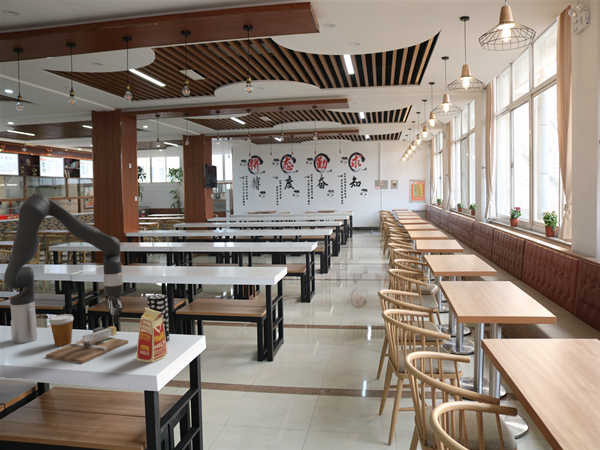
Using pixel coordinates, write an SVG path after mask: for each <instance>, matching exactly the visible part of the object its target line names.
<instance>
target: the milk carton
mask: <svg viewBox="0 0 600 450" xmlns="http://www.w3.org/2000/svg"><path fill="white" fill-rule="evenodd" d="M144 309H145V311H144V313H143V314H142V315H141V318H140V323H139V330H138V337H137V344H136V359H135V360H136V361H138V362H146V363H154V362H157V361H159V360H160V361H161V360H162V359H165V357H166V356H167V355H166V354H168V349H167V348H168V347H167V346H168V345H167V343H166V338H165V330H164V324H163V319H162V316H161V315H160V314H161V313H162V312H158V311H153V310H151V309H148V307H144ZM165 355H166V356H165Z"/></svg>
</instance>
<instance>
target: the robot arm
mask: <svg viewBox="0 0 600 450" xmlns="http://www.w3.org/2000/svg"><path fill="white" fill-rule="evenodd" d="M47 216H51V217H53V218H54V219H56V220H58V221H59V222H60V223H61V224H62V225H63V226H64V228H65V229H66V230H67V231H68V233H70V234H71V235H72V236H73V237H75V238H77V239H79V240H81V241H83V242H84V243H87V244H89V245H92V246H93V247H95V248H96V249H98V250H99V251H101V252H103V290H104V296H107V299H106V300H105V304H106V308H107V310H108V312H109V313H110V315H111V321H112V324H118V323H119V322H120V321H119V319H120V318H119V317H120V316H119V315H120V314H121V313H122V311H123V309H124V306H125V304H124V303H122V299H121V296H122V295H123V293H124V278H123V270H122V261H121V242H120V240H119V239H118V238H117V237H116V236H113V235H111V236H110V235H108V234H106V233H104V232H102V231H101V230H100V229H99V228H97V227H95V226H93V225H92V224H89V223H87V222H86V221H83V220H81V219H79V218H78V217H77V216H75V215H73V214H72V213H70V212H69V211H68V210H66V209H65V208H63V206H61V205H59V204H58V203H56V202H55V201H54V200H52V199H51V198H50V197H47V196H46V195H44V194H42V193H32V194H31V195H30V196H29V197H28V198H26V200H25V201H24V202H23V203H22V205H21V206H20V207H19V211H18V225H17V229H16V233H15V236H14V240H13V244H12V247H11V248H12V249H11V253H10V254H11V255H10V257H9V261H8V264H7V266H6V269H5V272H4V276H3V282H4V283H3V284H4V286H5V287H6V288H7V289H9V290H15V289H22V290H21V291H20V292H18V293H17V294H15V295H13V296H11V298H10V299H9V302H10V314H11V320H10V330H11V341H12V342H13V343H15V344H26V343H30V342H33V341H36V340H37V339H38V328H37V317H36V316H37V314H36V305H35V303H36V302H35V273H34V270H33V268H32V267H31V266H25V265H27V264H28V263H29V262H30V261H32V260H33V259H34V258H35V256H36V255H37V254H38V250H39V248H40V247H39V246H40V241H41V240H40V237H39V234H38V232H39V230H40V227H41V225H42V223H43V221H44V220H45V219H46V217H47Z"/></svg>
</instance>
